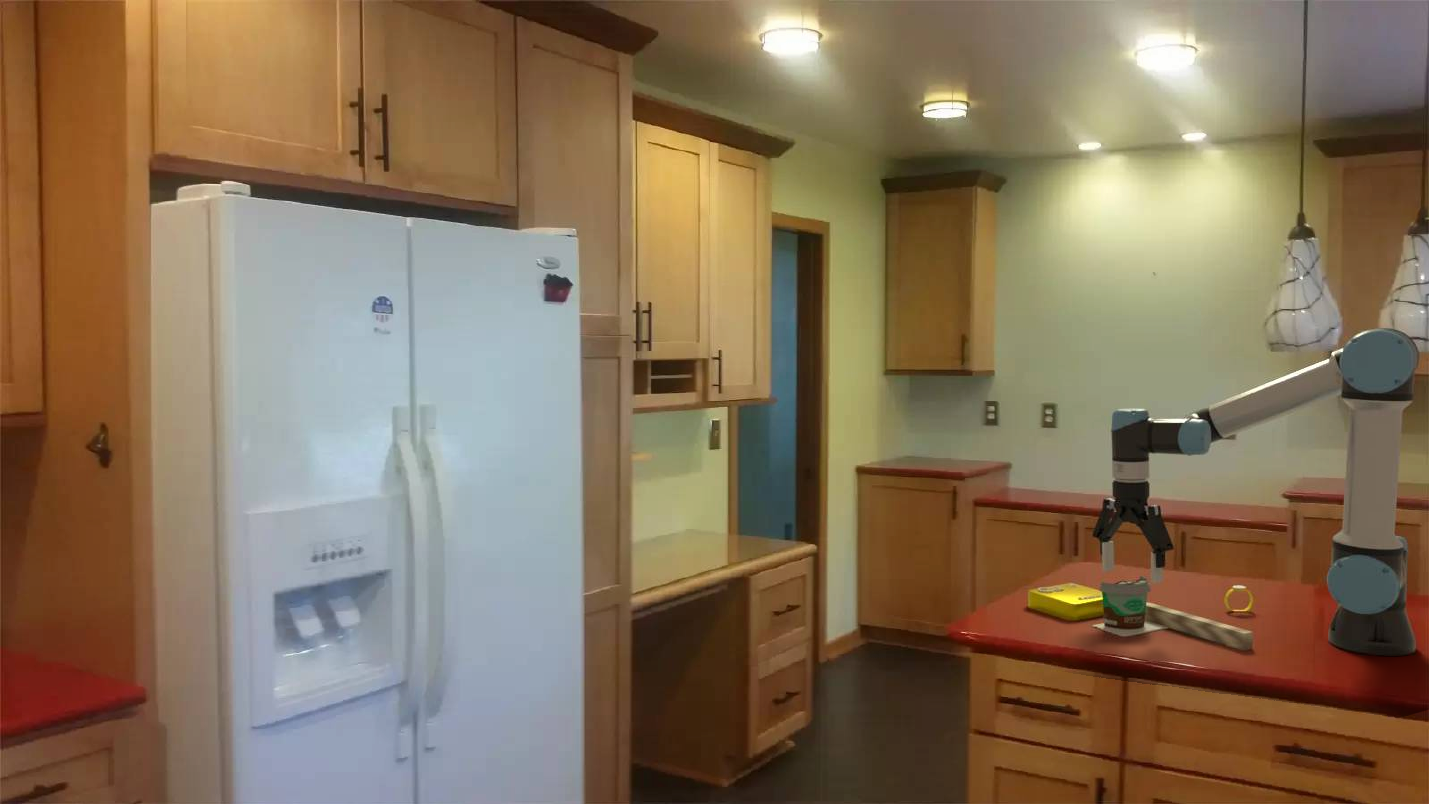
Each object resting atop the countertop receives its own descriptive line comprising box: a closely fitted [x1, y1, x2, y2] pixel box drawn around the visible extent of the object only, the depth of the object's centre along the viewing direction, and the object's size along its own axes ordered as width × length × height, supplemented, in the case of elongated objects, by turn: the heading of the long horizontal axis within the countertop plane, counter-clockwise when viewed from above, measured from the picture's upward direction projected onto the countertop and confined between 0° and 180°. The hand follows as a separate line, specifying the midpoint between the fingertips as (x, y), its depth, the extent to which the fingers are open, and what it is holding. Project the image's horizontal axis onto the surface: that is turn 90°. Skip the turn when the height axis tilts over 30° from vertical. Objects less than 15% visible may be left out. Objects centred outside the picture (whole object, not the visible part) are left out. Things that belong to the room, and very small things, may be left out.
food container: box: [1099, 575, 1152, 629], centre depth 233 cm, size 12×6×10 cm, turn 114°
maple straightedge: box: [1145, 601, 1254, 652], centre depth 229 cm, size 30×3×4 cm, turn 26°
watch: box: [1224, 584, 1255, 612], centre depth 244 cm, size 6×3×6 cm, turn 84°
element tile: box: [1027, 582, 1104, 621], centre depth 249 cm, size 15×15×5 cm
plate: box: [1091, 620, 1169, 638], centre depth 233 cm, size 9×13×1 cm
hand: (1132, 576), depth 232 cm, fingers open, 13 cm apart
